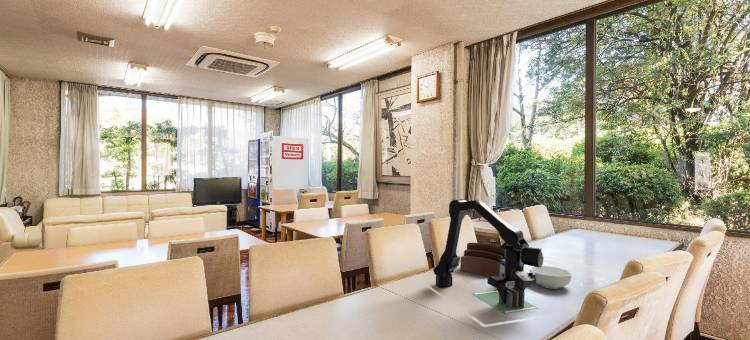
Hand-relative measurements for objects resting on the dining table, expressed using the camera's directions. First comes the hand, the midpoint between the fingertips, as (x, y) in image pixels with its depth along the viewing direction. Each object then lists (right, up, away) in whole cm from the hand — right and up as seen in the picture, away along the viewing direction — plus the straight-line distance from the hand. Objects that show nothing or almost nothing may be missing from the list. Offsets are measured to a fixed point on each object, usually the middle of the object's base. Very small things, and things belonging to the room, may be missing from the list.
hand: (511, 302), depth 134 cm
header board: (-1, -2, +4) cm, 5 cm away
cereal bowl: (+27, -2, +25) cm, 37 cm away
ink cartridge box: (+9, -2, +23) cm, 24 cm away
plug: (0, -1, 0) cm, 1 cm away
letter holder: (+2, -2, +43) cm, 43 cm away
